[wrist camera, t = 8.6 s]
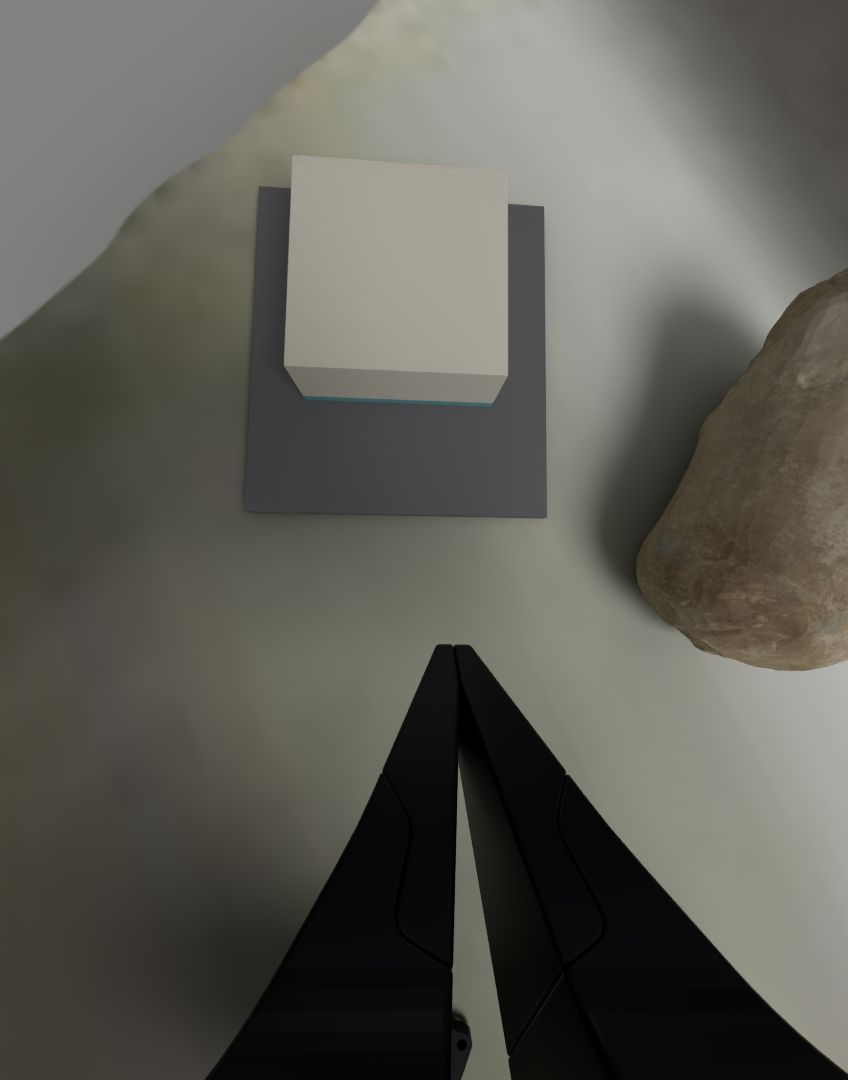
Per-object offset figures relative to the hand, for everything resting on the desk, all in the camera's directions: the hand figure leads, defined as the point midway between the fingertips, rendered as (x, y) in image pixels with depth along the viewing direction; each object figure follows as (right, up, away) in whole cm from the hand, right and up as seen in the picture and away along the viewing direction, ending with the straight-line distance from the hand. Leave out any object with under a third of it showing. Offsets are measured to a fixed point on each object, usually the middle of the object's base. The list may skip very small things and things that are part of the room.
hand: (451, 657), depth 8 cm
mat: (-2, +13, +10) cm, 17 cm away
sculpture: (+16, +5, +11) cm, 20 cm away
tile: (-2, +10, +8) cm, 13 cm away
